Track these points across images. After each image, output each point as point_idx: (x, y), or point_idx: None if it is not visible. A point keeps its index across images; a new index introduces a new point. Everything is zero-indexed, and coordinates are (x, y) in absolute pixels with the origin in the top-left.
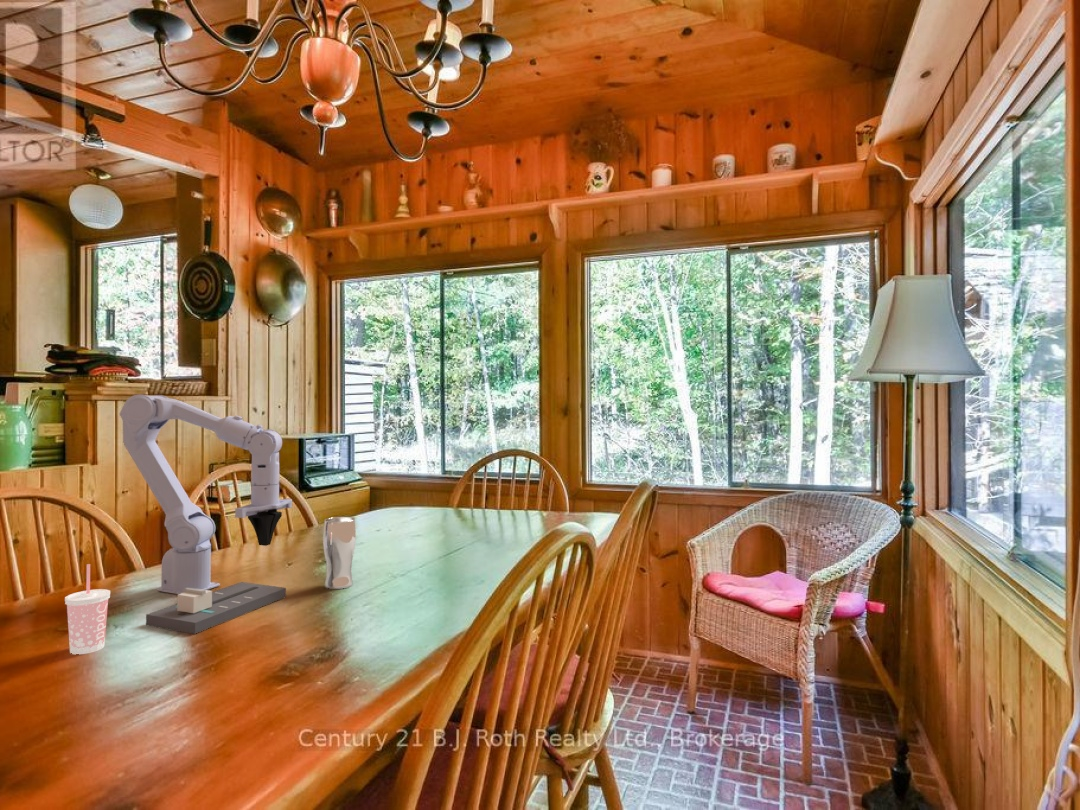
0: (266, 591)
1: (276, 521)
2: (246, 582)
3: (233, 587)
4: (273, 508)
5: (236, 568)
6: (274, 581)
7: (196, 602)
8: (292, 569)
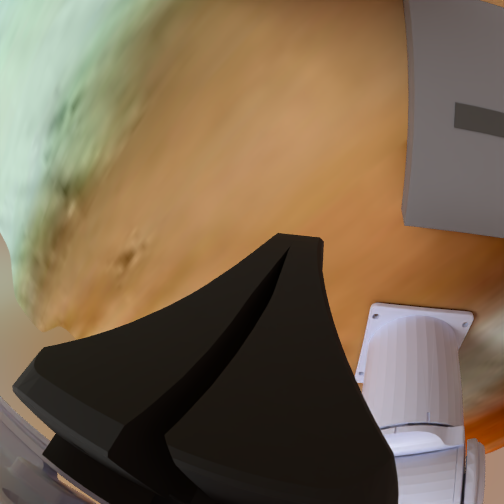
0: (481, 37)
1: (142, 338)
2: (407, 202)
3: (474, 206)
4: (70, 482)
5: None
6: (261, 178)
7: None
8: (146, 220)
